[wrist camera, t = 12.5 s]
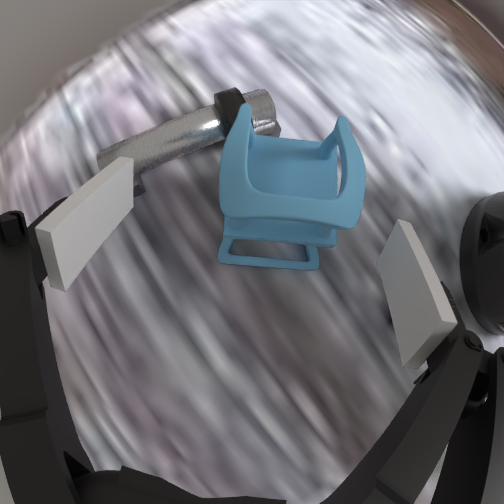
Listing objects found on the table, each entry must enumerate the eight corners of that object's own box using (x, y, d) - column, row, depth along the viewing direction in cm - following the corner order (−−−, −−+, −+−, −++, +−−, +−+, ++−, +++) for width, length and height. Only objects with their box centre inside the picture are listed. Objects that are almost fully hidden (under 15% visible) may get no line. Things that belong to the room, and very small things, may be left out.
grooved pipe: (257, 101, 26) (260, 68, 21) (278, 141, 26) (286, 111, 21) (107, 160, 25) (85, 136, 20) (120, 204, 24) (97, 186, 20)
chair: (319, 173, 26) (373, 90, 14) (316, 271, 24) (383, 249, 13) (228, 163, 25) (222, 69, 13) (217, 263, 24) (198, 232, 12)
